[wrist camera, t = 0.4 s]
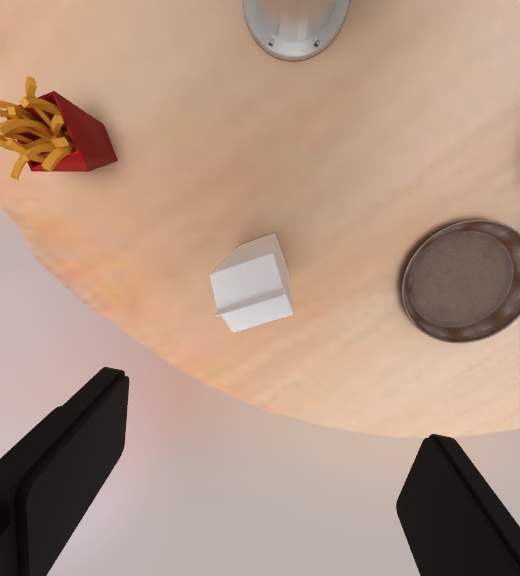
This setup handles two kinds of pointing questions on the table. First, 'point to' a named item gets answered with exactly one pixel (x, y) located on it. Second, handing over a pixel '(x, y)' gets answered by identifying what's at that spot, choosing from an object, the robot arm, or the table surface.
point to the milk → (252, 285)
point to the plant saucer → (465, 282)
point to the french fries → (53, 134)
